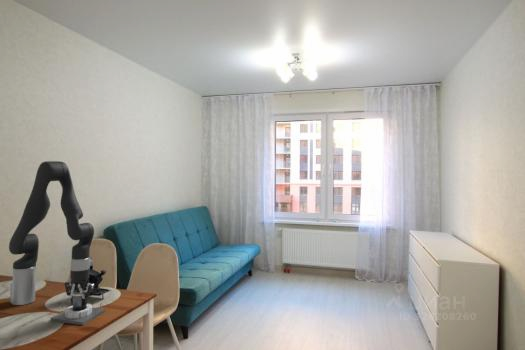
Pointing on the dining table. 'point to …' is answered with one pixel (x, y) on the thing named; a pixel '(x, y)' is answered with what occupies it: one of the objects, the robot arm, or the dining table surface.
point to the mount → (78, 315)
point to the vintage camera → (96, 280)
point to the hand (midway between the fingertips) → (78, 305)
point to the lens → (77, 301)
